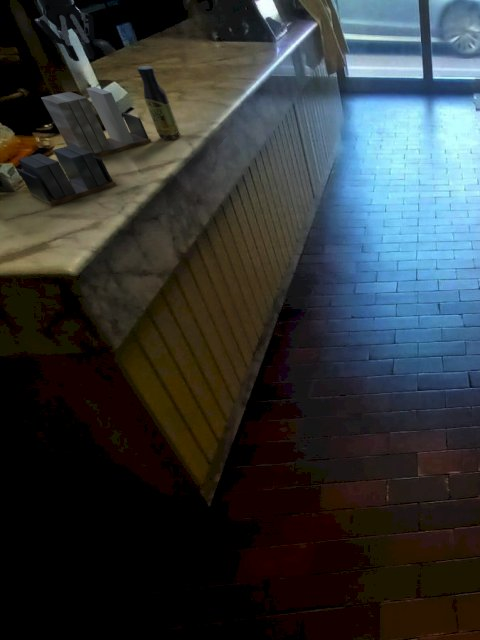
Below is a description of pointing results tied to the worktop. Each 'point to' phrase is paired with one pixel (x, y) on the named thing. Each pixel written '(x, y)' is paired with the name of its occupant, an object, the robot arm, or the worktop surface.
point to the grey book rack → (53, 183)
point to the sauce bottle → (158, 105)
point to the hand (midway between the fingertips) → (83, 59)
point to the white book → (110, 115)
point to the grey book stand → (89, 125)
